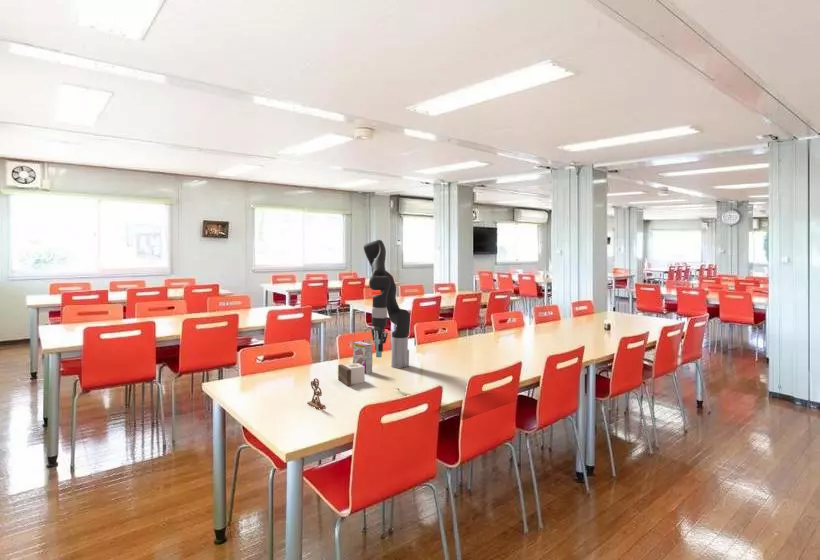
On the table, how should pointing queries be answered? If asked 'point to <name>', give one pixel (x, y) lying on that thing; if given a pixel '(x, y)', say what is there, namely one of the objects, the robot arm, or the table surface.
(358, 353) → the candy bar box
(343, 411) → the table surface
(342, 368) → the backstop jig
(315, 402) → the brown carved figurine
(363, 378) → the socket block
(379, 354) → the teal dowel
